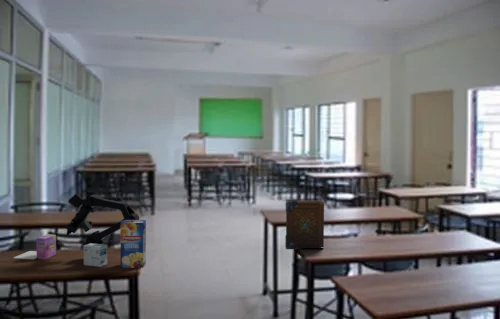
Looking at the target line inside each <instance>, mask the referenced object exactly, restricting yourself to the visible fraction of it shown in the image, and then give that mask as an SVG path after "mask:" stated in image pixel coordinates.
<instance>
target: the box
mask: <svg viewBox="0 0 500 319" xmlns="http://www.w3.org/2000/svg"><path fill="white" fill-rule="evenodd" d="M36 251H37V258H38V259H37V258H36V259H37V260H39V259H40V260H46V259H48V258H52V257H54V256H55V255H57V235H56V234H52V233H51V234H50V233H47V234H44V235H42V236H39V237H37V238H36Z"/></svg>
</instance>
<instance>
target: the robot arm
mask: <svg viewBox="0 0 500 319" xmlns="http://www.w3.org/2000/svg"><path fill="white" fill-rule="evenodd" d="M67 202H68V204H70V205H71V206H72V207H73V208H74V209H76V210H77V209H78V211H77V212H76V213H75V215H74V216H73V217H72V218H71V220H70V222H68V223H67V224H65V227H64V229H66V236H67V237H68V236H70V235H71V233H73V234H75V233H76V232H77V231H78V230H79V229H80V228H82V229H83V232H84V233H87V232H88V231H91V229H92V228H93V224H94V223H93V221H92V220H87V219H88V216H89V215H90V213H92V214H93V213H96V208H95V207H104V208H109V209H114V210H120V212H121V215H122V216H123V219H121V221H119V222H117V223H116V224H114V225H113V224H112V226H110V227H108V228H106V229H104V230H103V231H100V230H95V231H94V232H93V233H90V234H88V235H87V237H86V239H85V243H86V244H85V245H87V244H90V243H92V244H103V245H105V242H104V240H103V239H105V238H106V237H108V236H111V234H114V233H116V232H117V231H119V230H120V222H122V221H123V220H140V216H139V214H138V213H136V212H135V211H134V210H133V208H131V207H130V205H129V204H128V202H122V201H117V200H111V199H106V198H104V197H102V196H100V195H97V194H92V195H88V196H87V197H86V198H83V197H81V195H80V194H78V193H75V194H74V195H73V196H71V197H70V198H69V199H68V201H67Z"/></svg>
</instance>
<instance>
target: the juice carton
mask: <svg viewBox="0 0 500 319" xmlns="http://www.w3.org/2000/svg"><path fill="white" fill-rule="evenodd" d="M122 220H123V219H122ZM122 220H121V221H122ZM121 221H119V222H120V229H119V230H120V232H119V233H120V239H119V240H120V241H119V243H120V268H122V269H125V268H126V269H129V268H130V269H133V268H134V269H142V268H144V267H145V266H147V265H146V264H147V232H146V231H147V226H146V225H147V220H146V219H139V220H123V221H122V222H121Z"/></svg>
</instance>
